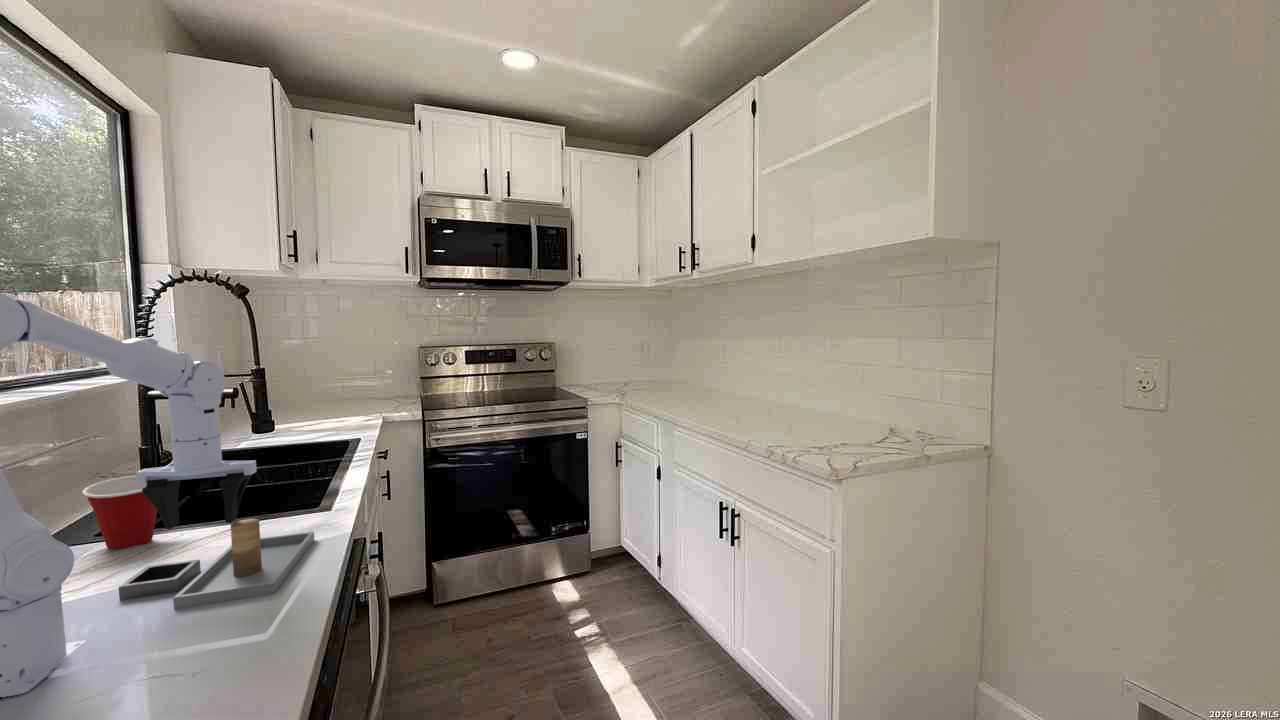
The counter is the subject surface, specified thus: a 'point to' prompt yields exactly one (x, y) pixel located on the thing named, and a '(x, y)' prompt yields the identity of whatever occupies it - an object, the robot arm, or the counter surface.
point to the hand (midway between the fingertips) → (202, 523)
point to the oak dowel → (246, 547)
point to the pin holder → (159, 580)
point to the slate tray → (224, 586)
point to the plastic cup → (122, 512)
